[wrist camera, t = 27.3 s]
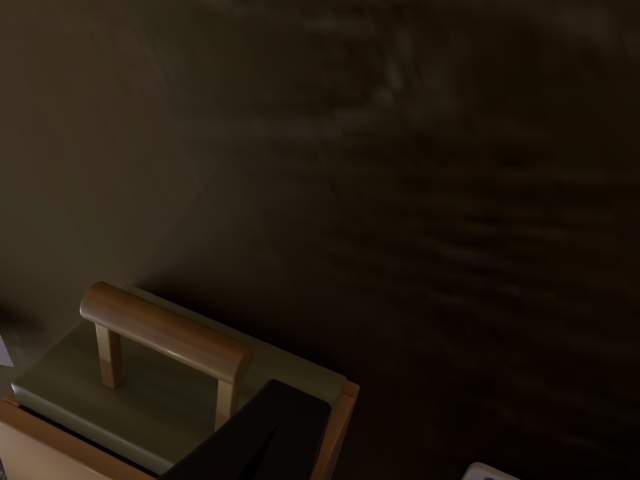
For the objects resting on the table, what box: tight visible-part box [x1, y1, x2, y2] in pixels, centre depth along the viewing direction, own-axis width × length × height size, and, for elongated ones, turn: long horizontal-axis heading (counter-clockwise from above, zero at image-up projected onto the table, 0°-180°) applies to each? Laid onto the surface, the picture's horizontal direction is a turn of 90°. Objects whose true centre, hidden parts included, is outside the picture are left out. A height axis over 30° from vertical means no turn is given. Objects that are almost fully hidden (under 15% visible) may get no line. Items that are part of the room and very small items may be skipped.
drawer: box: [12, 282, 347, 476], centre depth 25 cm, size 18×11×7 cm, turn 170°
